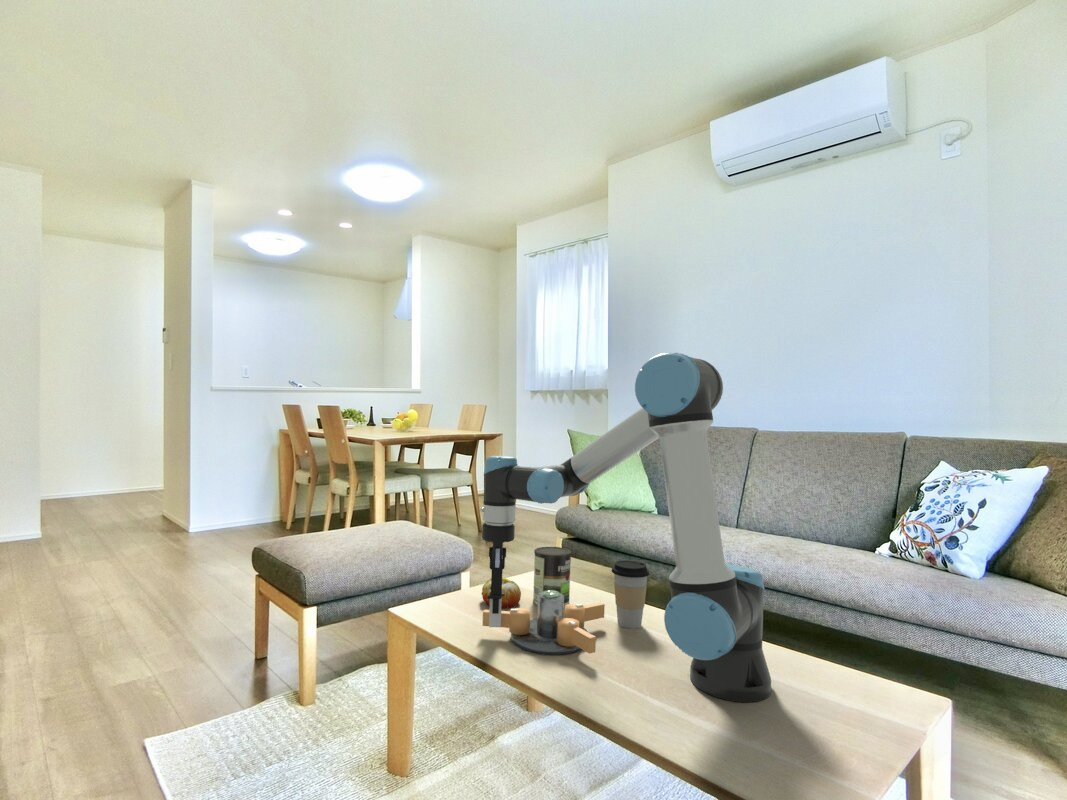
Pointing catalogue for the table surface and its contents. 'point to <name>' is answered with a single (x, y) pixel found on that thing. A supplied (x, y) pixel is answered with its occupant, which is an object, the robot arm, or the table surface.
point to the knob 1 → (512, 620)
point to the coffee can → (552, 571)
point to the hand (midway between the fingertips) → (494, 626)
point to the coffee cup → (630, 591)
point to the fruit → (509, 590)
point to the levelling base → (541, 643)
